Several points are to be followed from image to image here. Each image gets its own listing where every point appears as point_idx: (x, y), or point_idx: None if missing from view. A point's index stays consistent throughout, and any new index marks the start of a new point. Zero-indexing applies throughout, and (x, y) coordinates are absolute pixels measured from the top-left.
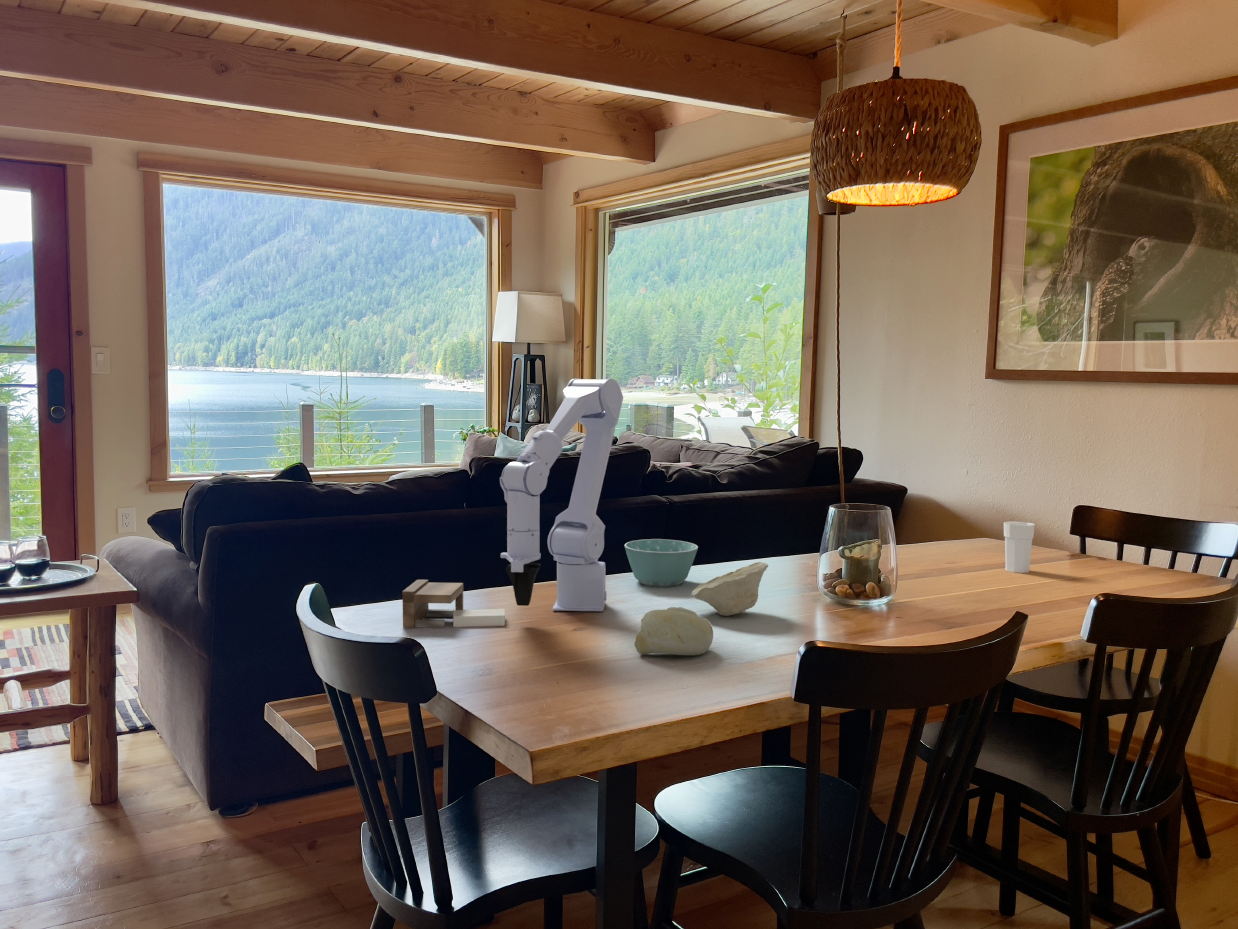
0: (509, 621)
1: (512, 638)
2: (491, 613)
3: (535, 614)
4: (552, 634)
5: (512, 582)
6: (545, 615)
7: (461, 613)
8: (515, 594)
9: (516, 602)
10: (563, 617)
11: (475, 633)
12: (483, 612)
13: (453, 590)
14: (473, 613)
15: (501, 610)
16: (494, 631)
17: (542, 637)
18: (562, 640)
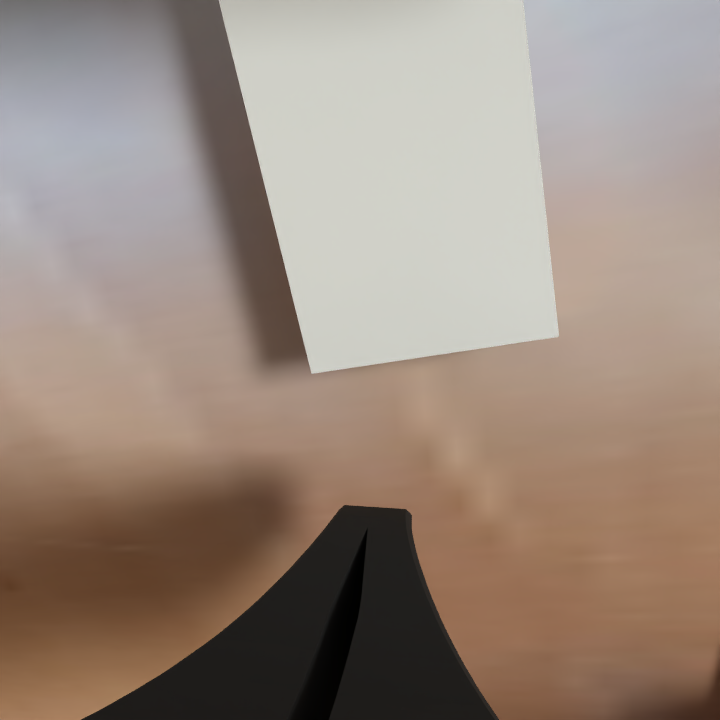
0: (447, 364)
1: (30, 433)
2: (367, 247)
3: (674, 524)
4: (164, 626)
5: (192, 656)
6: (635, 587)
7: None
8: (300, 562)
9: (335, 515)
10: (571, 684)
11: (73, 172)
12: (399, 160)
13: None
14: (348, 62)
15: (490, 319)
16: (155, 300)
17: (95, 582)
18: (68, 666)
